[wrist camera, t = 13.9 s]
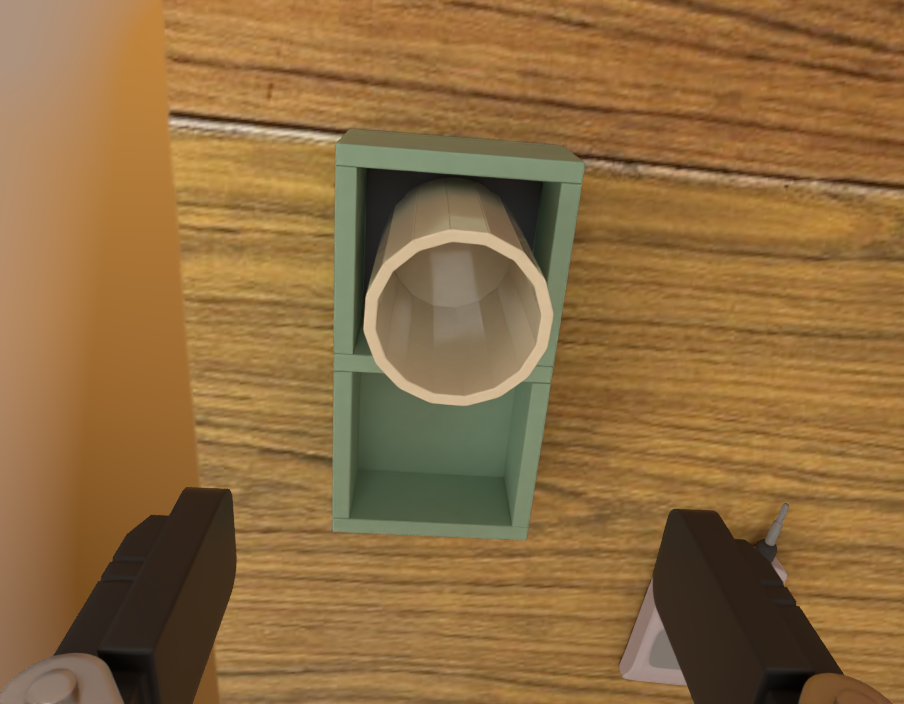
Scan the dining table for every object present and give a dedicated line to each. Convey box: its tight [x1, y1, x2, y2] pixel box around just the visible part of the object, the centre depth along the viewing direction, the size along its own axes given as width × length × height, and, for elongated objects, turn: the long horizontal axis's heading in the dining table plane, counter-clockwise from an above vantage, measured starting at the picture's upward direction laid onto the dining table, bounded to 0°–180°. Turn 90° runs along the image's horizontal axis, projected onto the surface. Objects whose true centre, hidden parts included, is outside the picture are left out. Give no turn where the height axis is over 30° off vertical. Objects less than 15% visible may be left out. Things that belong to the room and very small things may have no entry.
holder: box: [332, 129, 585, 540], centre depth 30 cm, size 17×9×5 cm, turn 175°
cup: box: [363, 177, 554, 406], centre depth 26 cm, size 6×6×9 cm
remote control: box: [619, 503, 789, 689], centre depth 39 cm, size 7×16×3 cm, turn 171°
